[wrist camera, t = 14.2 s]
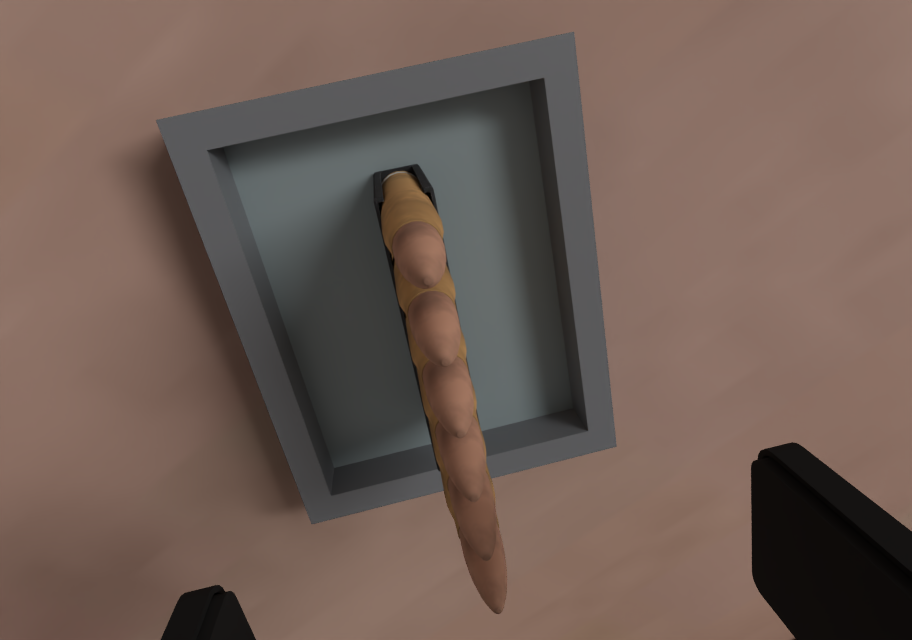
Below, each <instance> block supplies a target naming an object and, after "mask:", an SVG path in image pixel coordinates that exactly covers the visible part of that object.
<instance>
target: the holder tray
mask: <svg viewBox="0 0 912 640" xmlns="http://www.w3.org/2000/svg"><path fill="white" fill-rule="evenodd" d="M156 122H157V124H158V127H159V129H160V132H161V134H162V137H163V140H164V142H165V145H166V147H167V150H168V153H169V155H170V158H171V160H172V163H173V166H174V168H175V171H176V173H177V176H178V179H179V181H180V184H181V186H182V189H183V192H184V194H185V197H186V199H187V202H188V205H189V207H190V210H191V212H192V215H193V218H194V220H195V223H196V225H197V228H198V231H199V233H200V236H201V238H202V241H203V243H204V246H205V249H206V251H207V254H208V256H209V259H210V262H211V264H212V267H213V269H214V272H215V275H216V277H217V280H218V282H219V285H220V288H221V290H222V293H223V295H224V298H225V301H226V303H227V306H228V308H229V311H230V314H231V316H232V319H233V321H234V324H235V327H236V329H237V332H238V334H239V337H240V339H241V342H242V345H243V347H244V350H245V352H246V355H247V358H248V360H249V363H250V365H251V368H252V371H253V373H254V376H255V378H256V381H257V384H258V386H259V389H260V391H261V394H262V397H263V399H264V402H265V404H266V407H267V410H268V412H269V415H270V417H271V420H272V423H273V425H274V428H275V430H276V433H277V436H278V438H279V441H280V443H281V446H282V448H283V451H284V454H285V456H286V459H287V461H288V464H289V467H290V469H291V472H292V474H293V477H294V480H295V482H296V485H297V487H298V490H299V493H300V495H301V498H302V500H303V503H304V506H305V508H306V511H307V513H308V516H309V519H310V521H311V524H315V523H319V522H323V521H327V520H331V519H335V518H338V517H342V516H346V515H350V514H354V513H358V512H362V511H366V510H370V509H374V508H378V507H382V506H385V505H389V504H393V503H397V502H401V501H405V500H409V499H413V498H417V497H421V496H425V495H429V494H433V493H436V492H440V491H444V489H443V483H442V478H441V473H440V471H438V469H437V465H436V461H435V457H434V452H433V448H432V444H431V440H430V436H429V431H428V427H427V423H426V419H425V415H424V410H423V406H422V402H421V398H420V394H419V390H418V385H417V381H416V377H415V373H414V369H413V364H412V360H411V356H410V352H409V348H408V344H407V339H406V335H405V331H404V327H403V323H402V318H401V314H400V310H399V306H398V302H397V297H396V293H395V289H394V285H393V281H392V277H391V272H390V268H389V264H388V260H387V256H386V251H385V247H384V243H383V239H382V235H381V231H380V226H379V222H378V218H377V214H376V210H375V205H374V192H373V175H374V172H379V171H384V170H389V169H394V168H398V167H403V166H408V165H413V164H418V165H419V166H420V168H421V169H422V171H423V172H424V174H425V176H426V177H427V179H428V180H429V182H430V184H431V185H432V187H433V189H434V193H435V198H436V203H437V208H438V213H439V216H440V218H441V220H442V225H443V230H444V234H443V239H444V244H445V249H446V254H447V260H448V265H449V270H450V275H451V277H452V279H453V282H454V287H455V292H456V295H455V300H456V306H457V311H458V316H459V321H460V326H461V330H462V333H463V336H464V339H465V343H466V348H467V353H466V357H467V362H468V367H469V372H470V377H471V381H472V384H473V387H474V390H475V395H476V400H477V413H478V418H479V423H480V428H481V431H482V434H483V437H484V441H485V446H486V463H487V467H488V470H489V473H490V477H491V478H495V477H499V476H503V475H507V474H511V473H515V472H519V471H523V470H527V469H531V468H534V467H538V466H542V465H546V464H550V463H554V462H558V461H562V460H566V459H570V458H574V457H578V456H582V455H585V454H589V453H593V452H597V451H601V450H605V449H609V448H613V447H616V437H615V427H614V417H613V407H612V398H611V388H610V378H609V368H608V359H607V349H606V339H605V329H604V320H603V310H602V300H601V290H600V281H599V271H598V261H597V251H596V242H595V232H594V222H593V212H592V203H591V193H590V183H589V173H588V164H587V154H586V144H585V134H584V124H583V115H582V105H581V95H580V85H579V76H578V66H577V56H576V46H575V37H574V32H570V33H566V34H561V35H556V36H551V37H547V38H542V39H537V40H533V41H528V42H523V43H518V44H514V45H509V46H504V47H499V48H495V49H490V50H485V51H481V52H476V53H471V54H466V55H462V56H457V57H452V58H447V59H443V60H438V61H433V62H429V63H424V64H419V65H414V66H410V67H405V68H400V69H395V70H391V71H386V72H381V73H377V74H372V75H367V76H362V77H358V78H353V79H348V80H343V81H339V82H334V83H329V84H325V85H320V86H315V87H310V88H306V89H301V90H296V91H291V92H287V93H282V94H277V95H272V96H268V97H263V98H258V99H254V100H249V101H244V102H239V103H235V104H230V105H225V106H220V107H216V108H211V109H206V110H202V111H197V112H192V113H187V114H183V115H178V116H173V117H168V118H164V119H159V120H156Z"/></svg>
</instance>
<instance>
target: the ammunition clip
mask: <svg viewBox="0 0 912 640" xmlns="http://www.w3.org/2000/svg"><path fill="white" fill-rule="evenodd" d="M373 192H374V205H375V210H376V214H377V218H378V222H379V226H380V231H381V235H382V239H383V243H384V247H385V251H386V256H387V260H388V264H389V268H390V272H391V277H392V281H393V285H394V289H395V293H396V297H397V302H398V306H399V310H400V314H401V318H402V323H403V327H404V331H405V335H406V339H407V344H408V348H409V352H410V356H411V360H412V364H413V369H414V373H415V377H416V381H417V385H418V390H419V394H420V398H421V402H422V406H423V410H424V415H425V419H426V423H427V427H428V431H429V436H430V440H431V444H432V448H433V452H434V457H435V461H436V465H437V469H438V471H440V473H441V478H442V483H443V489H444V494H445V498H446V503H447V506H448V508H449V511H450V513H451V515H452V517H453V519H454V521H455V524H456V528H457V532H458V536H459V538H460V541H461V545H462V550H463V554H464V558H465V561H466V564H467V567H468V570H469V573H470V575H471V578H472V580H473V582H474V584H475V586H476V588H477V590H478V592H479V594H480V595H481V597H482V599H483V600H484V602H485V603H486V604H487V606H488V607H489V608H490V609H491V610H492V611H493V612H494V613H496V614H500V613H501V612H502V611H503V608H504V604H505V600H506V593H507V569H506V560H505V554H504V548H503V543H502V539H501V535H500V531H499V524H498V519H497V515H496V509H495V493H494V488H493V483H492V480H491V477H490V473H489V470H488V467H487V463H486V446H485V441H484V437H483V434H482V431H481V428H480V423H479V418H478V413H477V400H476V395H475V390H474V387H473V384H472V381H471V377H470V372H469V367H468V362H467V357H466V353H467V348H466V343H465V339H464V336H463V333H462V330H461V326H460V321H459V316H458V311H457V306H456V300H455V295H456V292H455V287H454V282H453V279H452V277H451V275H450V270H449V265H448V260H447V254H446V249H445V244H444V239H443V234H444V230H443V225H442V220H441V218H440V216H439V213H438V208H437V203H436V198H435V193H434V189H433V187H432V185H431V184H430V182H429V180H428V179H427V177H426V176H425V174H424V172H423V171H422V169H421V168H420V166H419V165H418V164H413V165H408V166H403V167H398V168H394V169H389V170H384V171H379V172H374V175H373Z"/></svg>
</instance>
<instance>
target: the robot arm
mask: <svg viewBox="0 0 912 640" xmlns="http://www.w3.org/2000/svg"><path fill="white" fill-rule="evenodd" d="M751 505H752V575H753V579H754V582H755V584H756V587H757V588H758V590H759V592H760V593H761V595H762V596H763V598H764V599H765V600H766V601H767V603H768V604H769V605H770V606H771V608H772V609H773V610H774V611H775V613H776V614H777V615H778V617H779V618H780V619H781V620H782V622H783V623H784V624H785V625H786V627H787V628H788V629H789V630H790V632H791V633H792V634H793V635H794V637H795V638H796V639H797V640H912V531H910V530H909V529H908V528H906V527H905V526H904V525H903V524H901V523H900V522H899V521H897V520H896V519H895V518H894V517H892V516H891V515H890V514H888V513H887V512H886V511H885V510H883V509H882V508H881V507H879V506H878V505H877V504H876V503H874V502H873V501H872V500H870V499H869V498H868V497H867V496H865V495H864V494H863V493H861V492H860V491H859V490H858V489H856V488H855V487H854V486H852V485H851V484H850V483H849V482H847V481H846V480H845V479H843V478H842V477H841V476H840V475H838V474H837V473H836V472H834V471H833V470H832V469H831V468H829V467H828V466H827V465H825V464H824V463H823V462H822V461H820V460H819V459H818V458H816V457H815V456H814V455H813V454H811V453H810V452H809V451H807V450H806V449H805V448H804V447H802V446H801V445H799V444H797V443H793V442H792V443H788V444H784V445H780V446H776V447H772V448H768V449H764V450H761V451H760V453H759V454H758V460H755V461H753V463H752V465H751ZM161 640H256V639H255V637H254V634H253V632H252V630H251V628H250V626H249V624H248V621H247V619H246V617H245V615H244V613H243V611H242V608H241V606H240V604H239V602H238V600H237V598H236V596H235V594H234V593H233V592H232V591H228V592H225V591H224V589H223V588H222V587H221V586H220V585H215V586H211V587H207V588H203V589H199V590H195V591H191V592H187V593H184V594H183V595H182V596H181V597H180V598H179V600H178V602H177V604H176V606H175V609H174V611H173V613H172V615H171V618H170V620H169V622H168V625H167V627H166V629H165V631H164V634H163V636H162V638H161Z"/></svg>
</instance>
